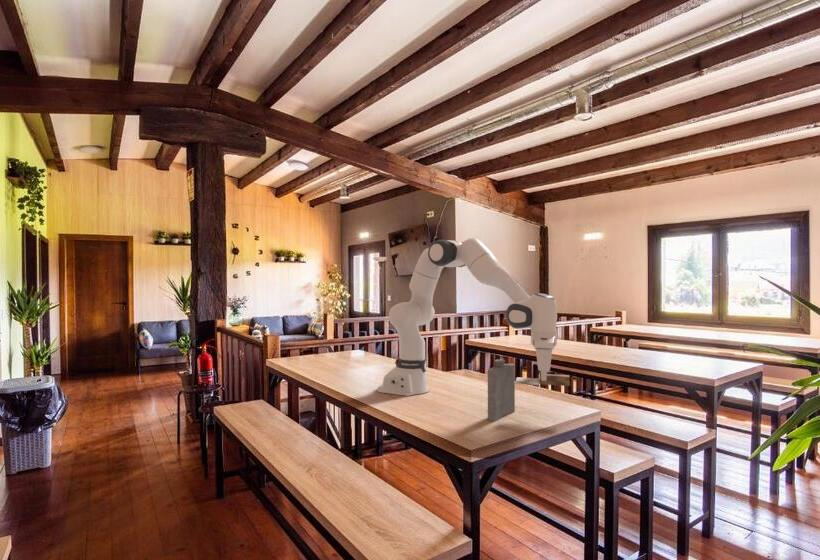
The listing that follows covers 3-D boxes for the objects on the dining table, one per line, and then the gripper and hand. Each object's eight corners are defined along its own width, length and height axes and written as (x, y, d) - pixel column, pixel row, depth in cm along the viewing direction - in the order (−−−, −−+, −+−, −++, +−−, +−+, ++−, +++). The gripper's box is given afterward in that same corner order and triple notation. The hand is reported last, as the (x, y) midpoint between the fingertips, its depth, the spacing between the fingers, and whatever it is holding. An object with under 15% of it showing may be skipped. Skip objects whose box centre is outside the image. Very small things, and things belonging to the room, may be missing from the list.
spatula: (568, 383, 162) (569, 374, 162) (569, 387, 156) (569, 377, 156) (516, 379, 167) (516, 371, 167) (515, 383, 161) (515, 374, 161)
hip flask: (493, 421, 159) (493, 364, 158) (483, 419, 161) (483, 362, 161) (516, 411, 170) (516, 357, 170) (506, 409, 173) (506, 356, 173)
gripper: (535, 335, 172) (534, 372, 172) (534, 343, 153) (534, 385, 153) (552, 336, 170) (552, 373, 171) (554, 344, 151) (553, 386, 151)
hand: (543, 379), depth 162 cm, fingers closed on spatula, 2 cm apart
